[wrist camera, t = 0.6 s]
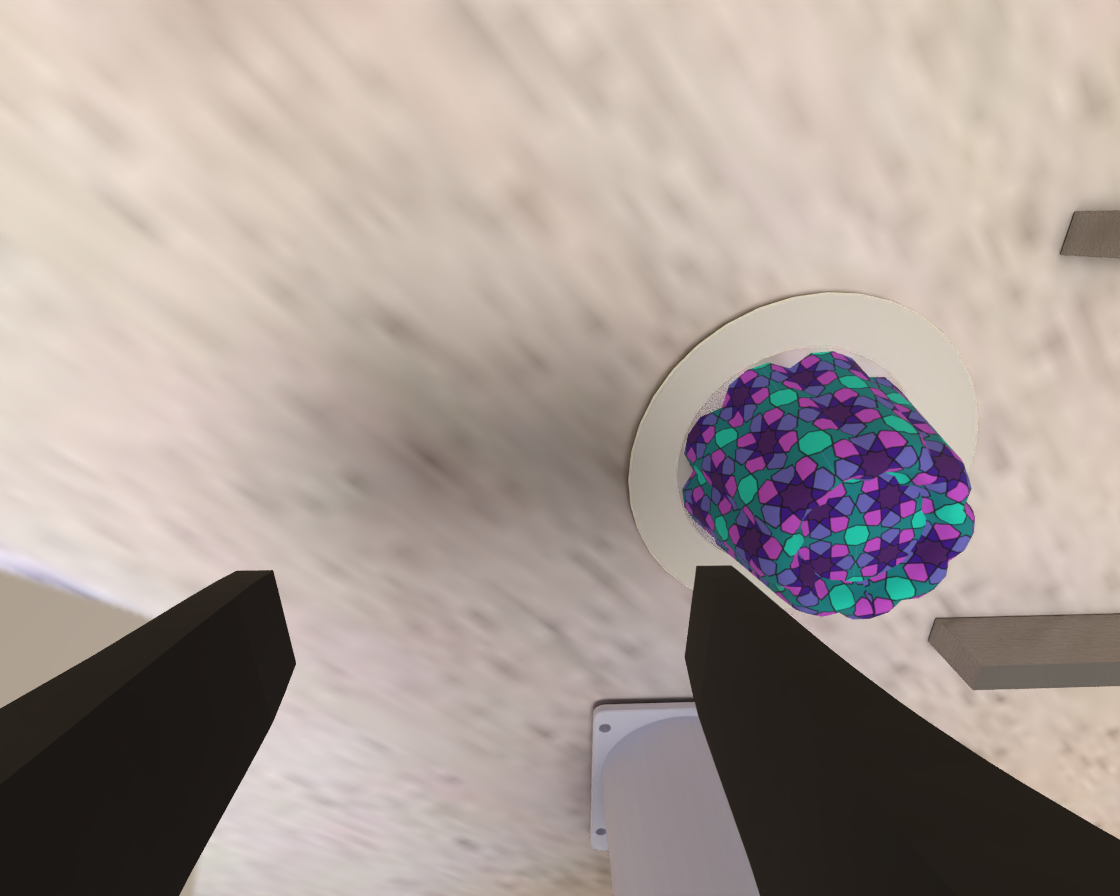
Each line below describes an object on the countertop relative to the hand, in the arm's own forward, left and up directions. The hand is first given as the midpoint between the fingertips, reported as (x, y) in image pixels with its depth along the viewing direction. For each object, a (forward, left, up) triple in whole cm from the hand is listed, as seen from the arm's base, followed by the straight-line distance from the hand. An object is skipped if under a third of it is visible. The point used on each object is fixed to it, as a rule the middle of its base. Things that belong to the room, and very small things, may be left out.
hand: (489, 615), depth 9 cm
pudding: (-2, -10, -10) cm, 14 cm away
